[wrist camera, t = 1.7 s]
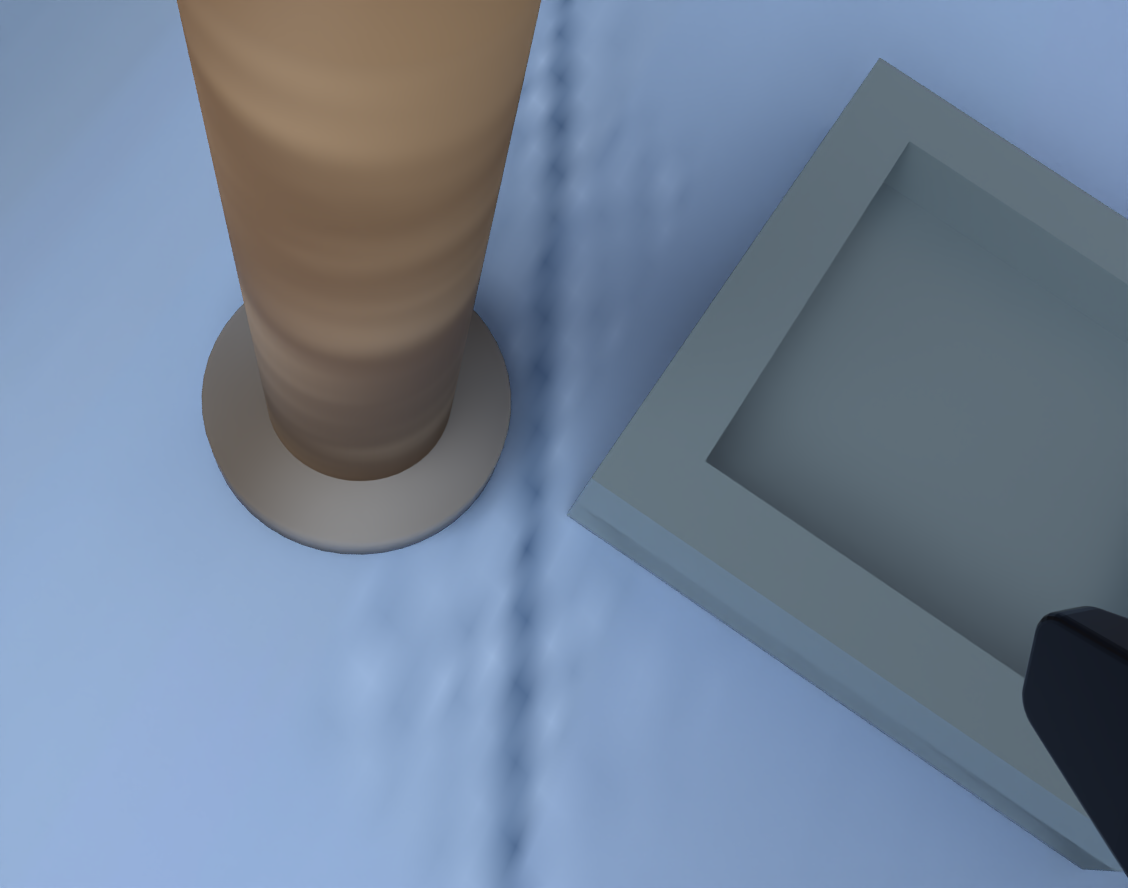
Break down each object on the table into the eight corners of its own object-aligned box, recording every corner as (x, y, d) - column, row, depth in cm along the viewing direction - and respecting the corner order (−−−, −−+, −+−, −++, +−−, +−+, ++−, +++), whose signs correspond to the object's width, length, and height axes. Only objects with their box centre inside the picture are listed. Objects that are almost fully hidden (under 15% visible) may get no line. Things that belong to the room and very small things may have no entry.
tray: (1261, 405, 26) (1349, 364, 24) (1082, 868, 21) (1170, 874, 19) (834, 124, 27) (879, 57, 24) (566, 515, 22) (591, 478, 19)
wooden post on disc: (558, 387, 23) (780, -102, 11) (392, 614, 21) (438, 315, 8) (332, 233, 23) (302, -414, 11) (143, 440, 21) (-154, -89, 9)
